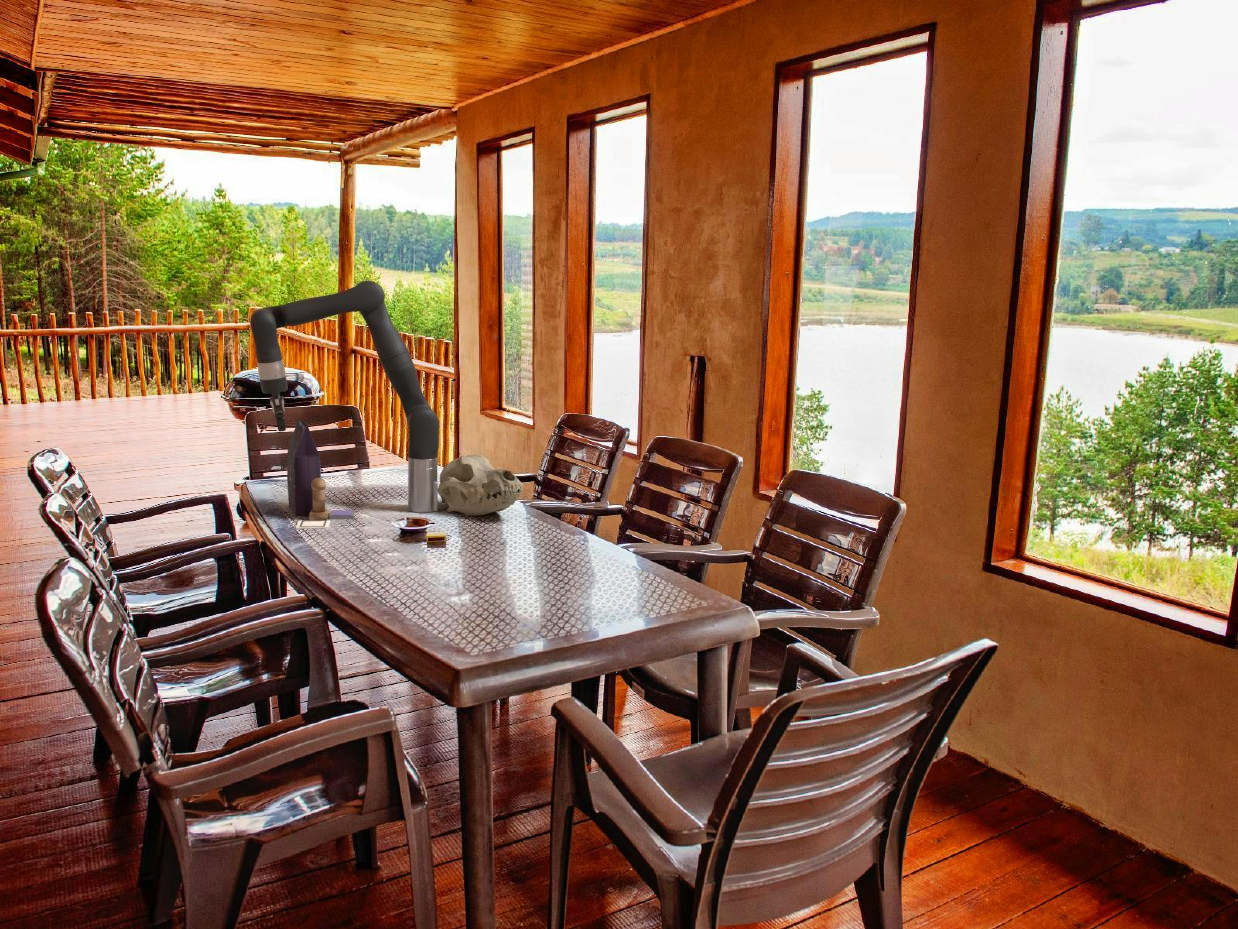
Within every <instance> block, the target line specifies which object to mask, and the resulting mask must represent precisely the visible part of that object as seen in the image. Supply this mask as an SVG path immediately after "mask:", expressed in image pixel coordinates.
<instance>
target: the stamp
mask: <svg viewBox="0 0 1238 929" xmlns="http://www.w3.org/2000/svg"><path fill="white" fill-rule="evenodd" d="M311 488H312V491H313V510H311V511H310V516H309V521H311V520H329V519H328V518H329V509H328V508H327V509H326V489H327V482H326V480H325V479H324V478H322V477H321V478H315V479H314V480H313V481H312V482H311Z"/></svg>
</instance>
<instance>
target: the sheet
mask: <svg viewBox="0 0 1238 929" xmlns="http://www.w3.org/2000/svg"><path fill="white" fill-rule="evenodd" d="M330 524H331V519H327V520H311V521H310V520H298V522H297V524H296V526H295V529H297V530H298V529H303V530H304V529H329V527H330Z"/></svg>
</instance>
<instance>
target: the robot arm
mask: <svg viewBox="0 0 1238 929" xmlns="http://www.w3.org/2000/svg"><path fill="white" fill-rule="evenodd" d="M385 294H386V293H385V291H384V289H383V288H382V286H381V285H380V284H379V283H378V282H375V281H372V280H362V281H360V282H359V283H357V284H356V285H355V286H353V287H350V288H348V289H345V290H341V291H340V292H335V293H332V294H327V295H320V296H314V297H309V298H307V297H306V298H304V299H299V300H294V301H291V302H288V303H283V304H280V305H273V306H266V307H262V308H257V309H256V310H255V311H253V312H252V314H251V316H250V319H249V323H250V328H251V333H252V338H253V341H254V344H255V356H256V362H257V370H258V377H259V381H260V388H261V393H263V394H265V395H266V394H269V395H271V397H269V402H270V406H271V409H272V413H273V414H274V415H275V416H274V419H275V420H276V425H277V431H278V432H279V433H280V432H285V431H286V430H287V429H286V422H285V414H284V413H285V411H286V410H285V400H284V395H281V393H284V392H286V391H288V389H289V387H288V386H289V385H288V381H287V380H288V379H287V375H286V368H285V365H284V361H283V355H282V351H281V346H280V343H279V339H278V330H277V329H281V328H286V327H297V326H301V325H304V324H305V325H306V324H309V323H312V322H313V323H314V322H316V321H320V320H323V319H327V318H330V317H333V316H337V315H338V316H339V315H342V314H347V313H354V312H355V313H357V312H359V313H360V315H361V316H362V319H363V320H364V322H365V324H366V325H367V328H368V330H369V332H370V336H371V339H372V343H373V346H374V348H375V351H376V354H377V356H378V359H379V361H380V365H381V366H382V369H383V370H384V373H385V375H386V377H387V378H388V381H389V383H390V384H391V385H392V388H393V389H394V390H395V392H396V394H397V396H398V397H399V400H400V402H401V406H402V409H403V412H404V414H405V419H406V422H407V426H408V428H409V429H408V431H409V435H408V450H407V452H408V454H407V463H408V464H407V510H408V511H410V512H412V513H413V512H414V513H431V512H438V502H439V500H438V495H439V494H438V487H439V484H438V457H439V456H438V455H439V454H438V453H439V448H440V446H439V443H440V442H439V441H440V440H439V439H440V420H439V418H438V416H437V414H436V412H434V410H433V409H432V408H431V406H430V404H429V403H428V401H427V399H426V397H425V395H424V394H423V390H422V389H421V385H420V382H419V378H418V373H417V370H416V367H415V364H414V361H413V358H412V355H411V354H410V352H409V350H408V347H407V345H406V343H405V341H404V340H403V338H402V336H401V334H400V332H399V331H398V330H397V328H396V326H395V325H394V323H393V321H392V320H391V317H390V314H389V311H388V309H387V306H386V302H385V299H386V296H385Z"/></svg>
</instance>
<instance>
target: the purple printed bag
mask: <svg viewBox="0 0 1238 929" xmlns="http://www.w3.org/2000/svg"><path fill="white" fill-rule="evenodd" d="M286 463H287V464H286V465H287V467H286V468H287V469H286V471H287V472H286V480H287V495H288V498H287V499H288V507H289V509H290V510H291V512H292V514H293V515H294V517H295V518H299V517H302V518H303V517H310V511H311V510H313V491H312V488H311V482H312V481H313V480H314V479H315V478H322V470H321V456H320V453H319V451H318V448H317V446H316V443H315V440H314V438H313V436H312V433H311V431H310V428H309V425H307V424H306V423H305V422H304V421H303V419H300V420H299V419H297V422H296V424H295V427H294V430H293V433H292V436H291V439H290V442H289V444H288V446H287V462H286Z"/></svg>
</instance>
